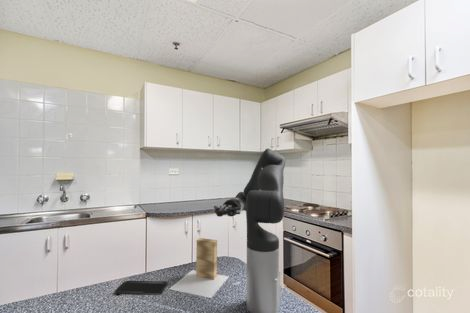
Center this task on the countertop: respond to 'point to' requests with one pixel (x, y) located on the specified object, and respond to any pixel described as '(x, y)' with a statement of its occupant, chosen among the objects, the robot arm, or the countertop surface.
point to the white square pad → (199, 284)
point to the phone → (141, 287)
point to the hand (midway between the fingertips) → (218, 213)
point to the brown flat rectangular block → (206, 258)
